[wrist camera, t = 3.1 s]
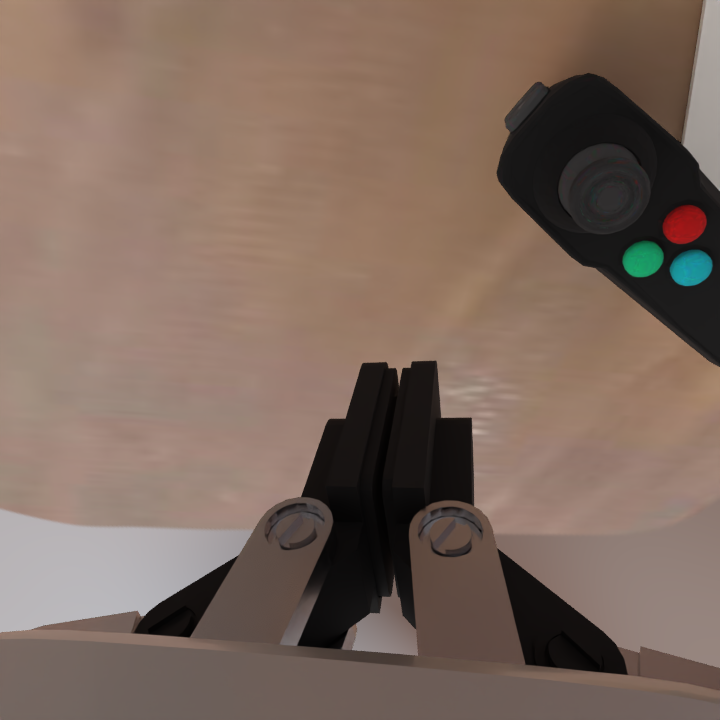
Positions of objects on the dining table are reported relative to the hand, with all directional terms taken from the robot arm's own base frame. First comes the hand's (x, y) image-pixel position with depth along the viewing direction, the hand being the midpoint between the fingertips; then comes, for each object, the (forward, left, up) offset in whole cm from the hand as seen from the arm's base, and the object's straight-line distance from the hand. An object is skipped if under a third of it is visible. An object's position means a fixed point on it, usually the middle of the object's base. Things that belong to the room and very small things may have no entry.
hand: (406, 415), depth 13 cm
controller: (0, +8, -16) cm, 18 cm away
